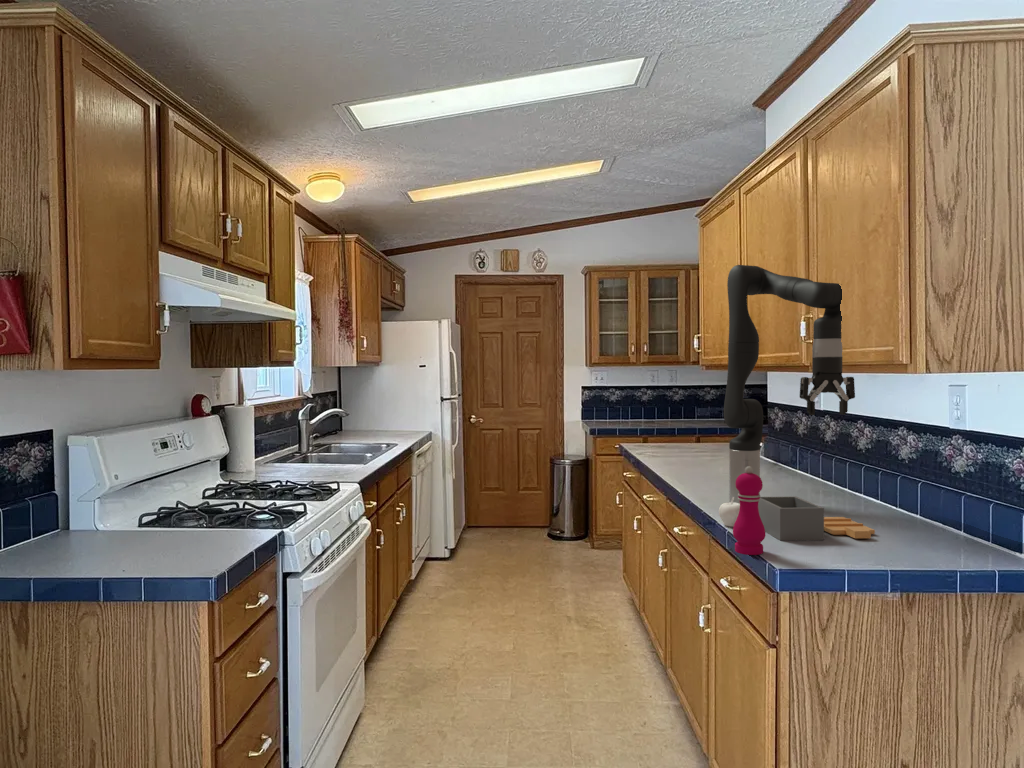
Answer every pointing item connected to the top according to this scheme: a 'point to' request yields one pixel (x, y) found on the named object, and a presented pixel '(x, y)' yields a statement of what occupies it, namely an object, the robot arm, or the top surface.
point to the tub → (791, 518)
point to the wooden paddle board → (846, 527)
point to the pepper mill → (749, 515)
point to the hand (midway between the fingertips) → (827, 414)
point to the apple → (729, 513)
